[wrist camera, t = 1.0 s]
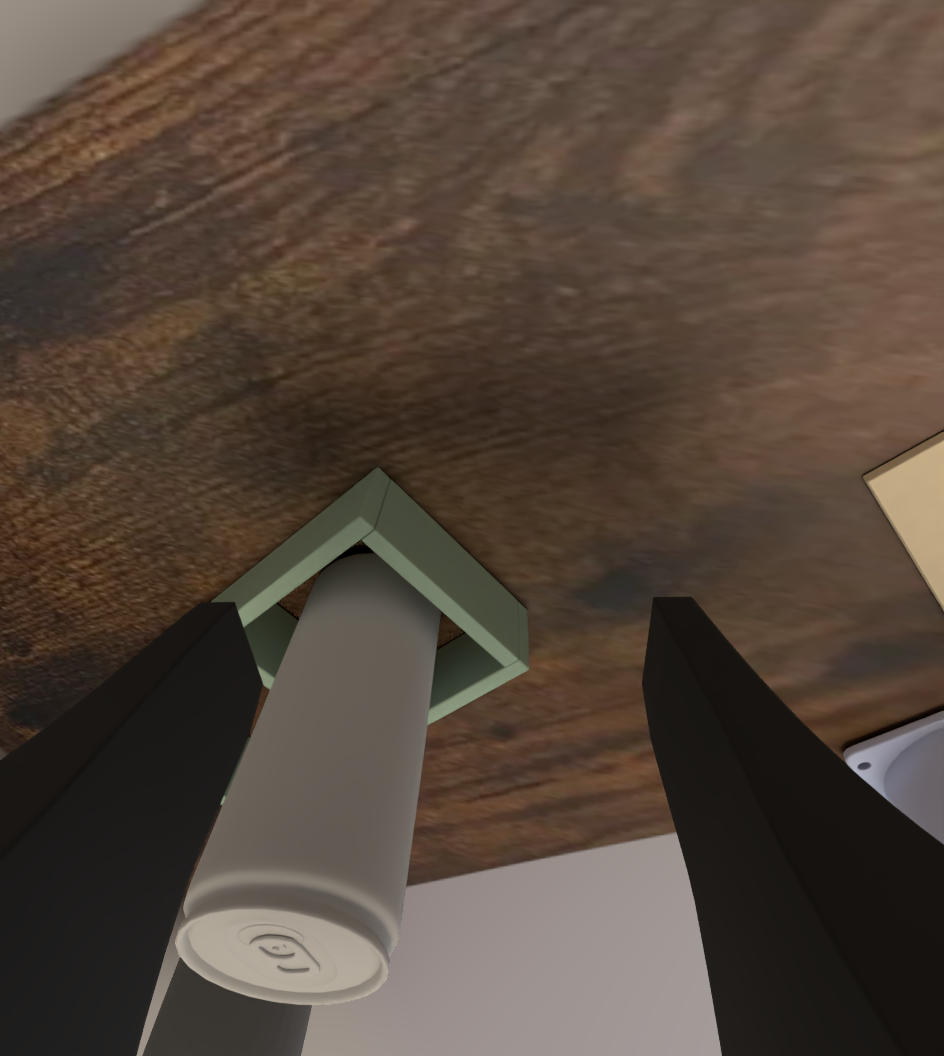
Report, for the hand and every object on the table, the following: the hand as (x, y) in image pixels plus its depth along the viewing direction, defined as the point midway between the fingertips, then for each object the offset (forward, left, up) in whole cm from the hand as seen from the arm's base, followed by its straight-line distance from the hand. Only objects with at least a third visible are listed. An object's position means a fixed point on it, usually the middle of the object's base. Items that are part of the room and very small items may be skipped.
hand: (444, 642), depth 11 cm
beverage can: (-3, +7, -10) cm, 13 cm away
